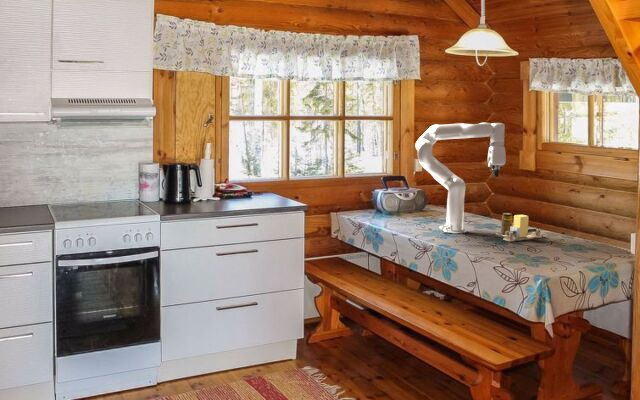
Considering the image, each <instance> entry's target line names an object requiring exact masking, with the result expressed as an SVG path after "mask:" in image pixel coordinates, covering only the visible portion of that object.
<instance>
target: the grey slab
mask: <svg viewBox="0 0 640 400" xmlns="http://www.w3.org/2000/svg"><path fill="white" fill-rule="evenodd" d="M510 231H514V232H515V234H513V238H514V239H520V228H519V227H515V226H513V225H512V226H510Z"/></svg>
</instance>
